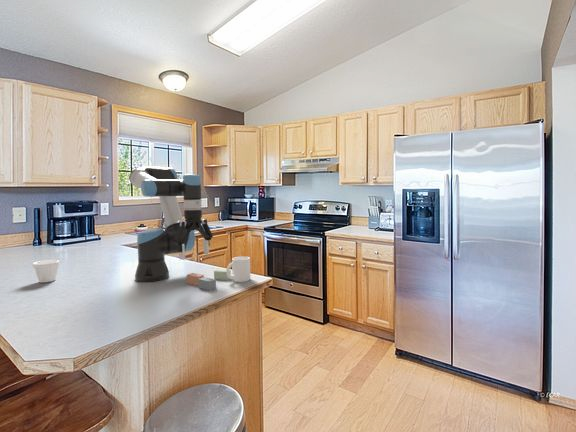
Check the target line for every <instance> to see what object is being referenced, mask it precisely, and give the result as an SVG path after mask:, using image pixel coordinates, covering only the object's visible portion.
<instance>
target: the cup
mask: <svg viewBox="0 0 576 432" xmlns="http://www.w3.org/2000/svg"><path fill="white" fill-rule="evenodd" d="M59 264H60V260H58V259H44V260H39V261H34V262H33V263H32V268H33V269H34V271H35V274H36V277H37V280H38V284H39V283H40V284H47V283H53V282H54V281H56V279H57V274H58V268H59Z"/></svg>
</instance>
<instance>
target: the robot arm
mask: <svg viewBox="0 0 576 432" xmlns="http://www.w3.org/2000/svg"><path fill="white" fill-rule="evenodd" d="M128 177H129V178H128V179H129V182H130V184H131V185H132V186H134V187H135V188H136V189H140V190H141V193H142V194H141V195H142V196H143V197H146V198H147V197H148V198H149V197H150V198H153V197H155V198H157V197H158V198H159V202H160V206H161V210H162V213H163V217H164V221H165V224H166V225H165V226H166V227H165V228H161V227H158V228H150V229H146V230H145V229H144V230H142V231H140V232H138V233H137V242H136V244H137V258H138V262H137V263H138V264H137V267H136V271H135V274H134V280H135V281H137V282H142V283H146V282H148V283H149V282H151V283H152V282H156V281H163V280H166V279H168V278H169V277H170V270H169V267H168V266H167V263H166V259H165V256H166V255H172V254H179V257H178V258H179V260H183V261H185V260H186V253H187V252H188V253H189V252H191V251H193V249H194V247H195V243H196V242H195V241H196V234H195V231H198V232H199V234H200V235H201V236H202V237H203V241H202V243H203V244H202V246H203V255H210V246H211V245H210V241H211V240H212V239H213V238H214V236H213V233H212V231H211V229H210V227H209V223H208V219H207V218H202V217H203V211H202V208H203V207H202V180H201V175H199V174H196V173H195V174H193V173H192V174H191V173H190V174H189V173H186V174H183V176H182V179H178V174H177V171H176V170H175V168H173V167H168V166H164V167H163V166H162V167H161V166H140V167H137V168H135V169H133V170H132V171H131V172H130V174H129V176H128ZM178 197H183V209H184V211H183V215H184V219H185V220H184V219H183V215H182V212H181V209H180V203H179V202H178Z"/></svg>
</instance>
